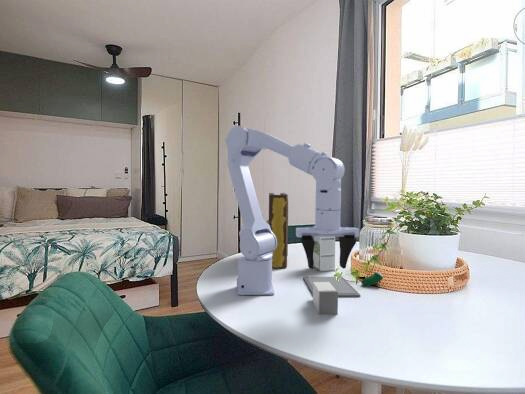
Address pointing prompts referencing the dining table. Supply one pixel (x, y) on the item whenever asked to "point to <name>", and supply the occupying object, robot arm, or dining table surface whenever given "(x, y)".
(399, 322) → the dining table surface
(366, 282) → the gaming controller
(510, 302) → the dining table surface
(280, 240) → the book
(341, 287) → the mat
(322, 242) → the syrup box
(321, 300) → the plug
